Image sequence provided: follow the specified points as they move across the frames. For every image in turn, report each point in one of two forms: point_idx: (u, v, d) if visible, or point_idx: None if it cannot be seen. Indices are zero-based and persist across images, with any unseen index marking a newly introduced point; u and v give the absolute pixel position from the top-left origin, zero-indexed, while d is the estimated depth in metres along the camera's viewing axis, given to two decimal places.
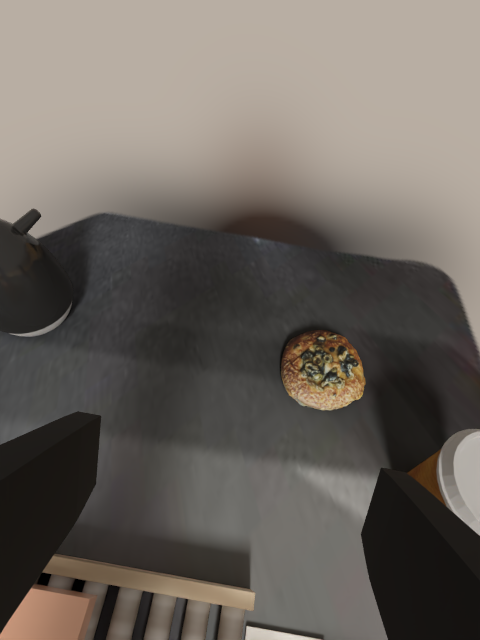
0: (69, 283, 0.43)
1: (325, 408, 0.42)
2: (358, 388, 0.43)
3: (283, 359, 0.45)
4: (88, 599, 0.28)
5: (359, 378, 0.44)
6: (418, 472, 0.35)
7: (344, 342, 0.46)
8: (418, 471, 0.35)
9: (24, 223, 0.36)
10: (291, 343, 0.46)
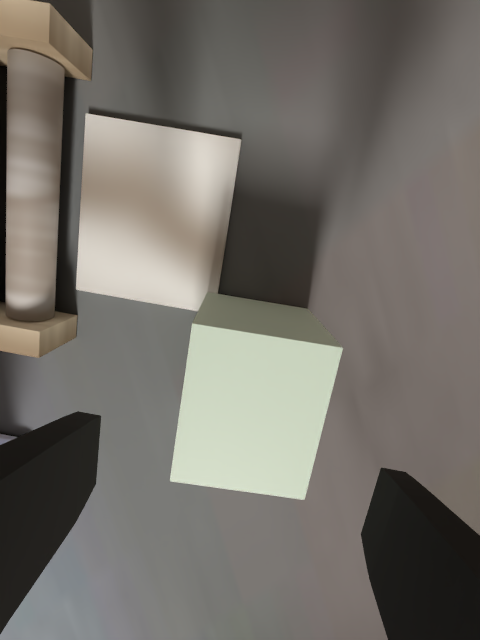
0: None
1: None
2: None
3: None
4: None
5: None
6: None
7: None
8: None
9: None
10: None
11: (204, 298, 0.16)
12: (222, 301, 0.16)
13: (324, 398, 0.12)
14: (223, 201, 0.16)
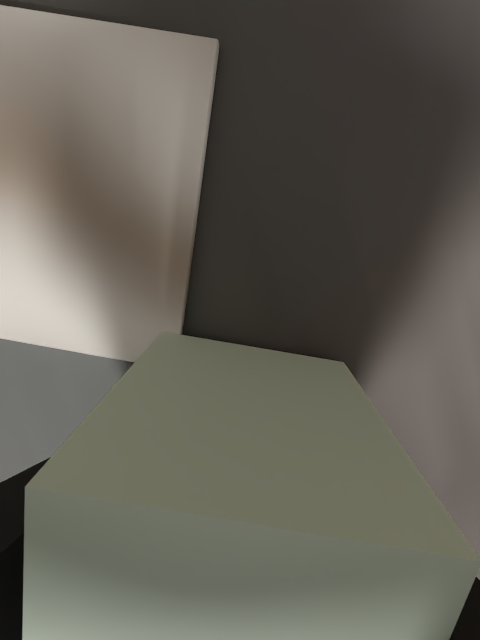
0: None
1: None
2: None
3: None
4: None
5: None
6: None
7: None
8: None
9: None
10: None
11: (144, 351, 0.08)
12: (179, 358, 0.08)
13: None
14: (186, 164, 0.09)
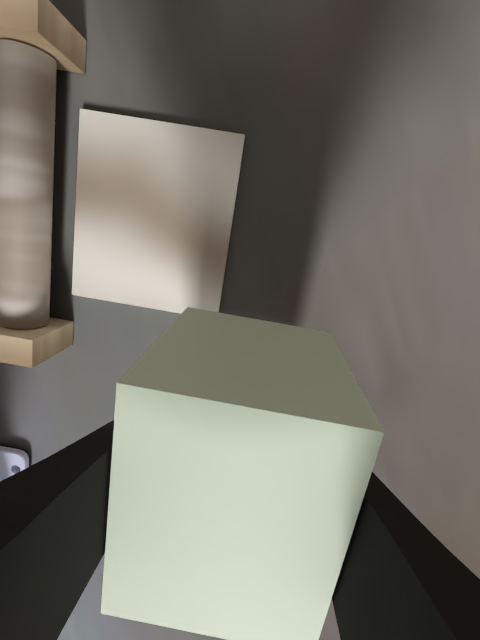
0: None
1: None
2: None
3: None
4: None
5: None
6: None
7: None
8: None
9: None
10: None
11: None
12: (201, 324, 0.11)
13: (348, 512, 0.07)
14: (226, 200, 0.15)
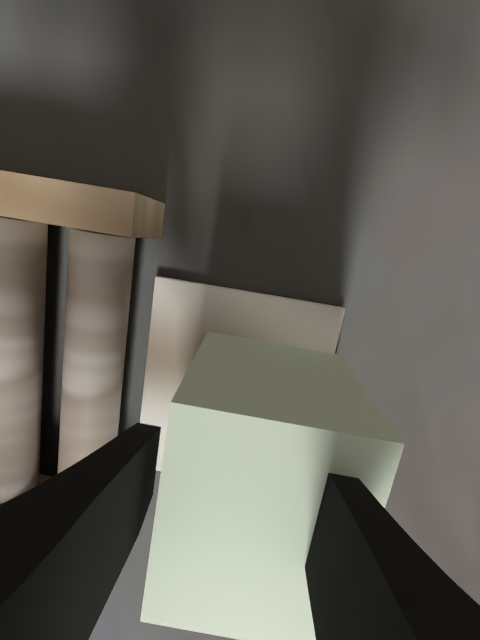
0: None
1: None
2: None
3: None
4: None
5: None
6: None
7: None
8: None
9: None
10: None
11: None
12: (225, 348, 0.12)
13: None
14: None
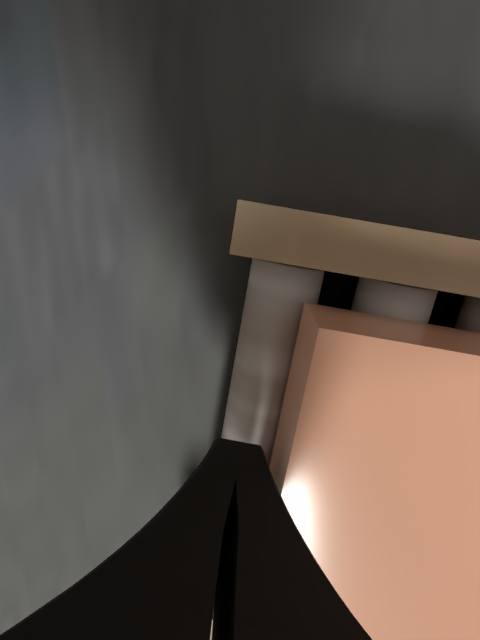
0: None
1: None
2: None
3: None
4: None
5: None
6: None
7: None
8: None
9: None
10: None
11: None
12: None
13: None
14: None
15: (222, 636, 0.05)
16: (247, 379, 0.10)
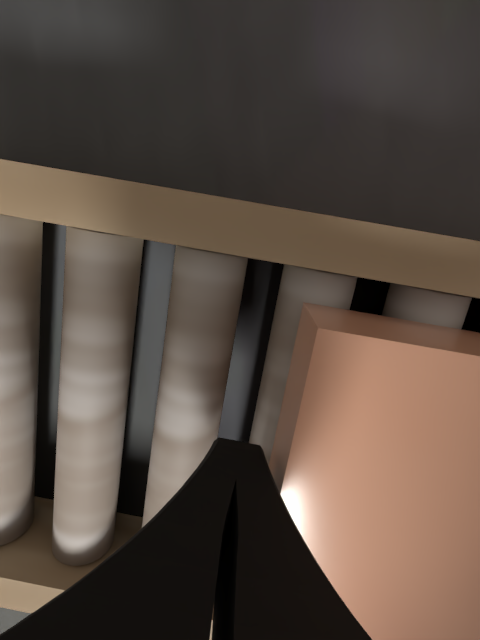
0: None
1: None
2: None
3: None
4: None
5: None
6: None
7: None
8: None
9: None
10: None
11: None
12: None
13: None
14: None
15: (222, 636, 0.05)
16: None
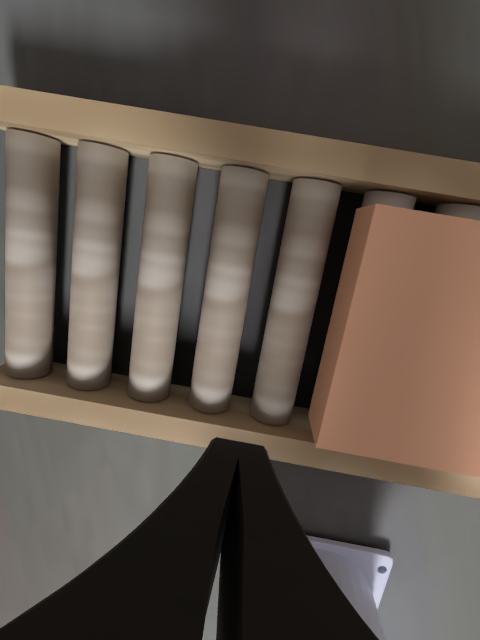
0: None
1: None
2: None
3: None
4: None
5: None
6: None
7: None
8: None
9: None
10: None
11: None
12: None
13: None
14: None
15: (228, 637, 0.05)
16: (7, 212, 0.15)
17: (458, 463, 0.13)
